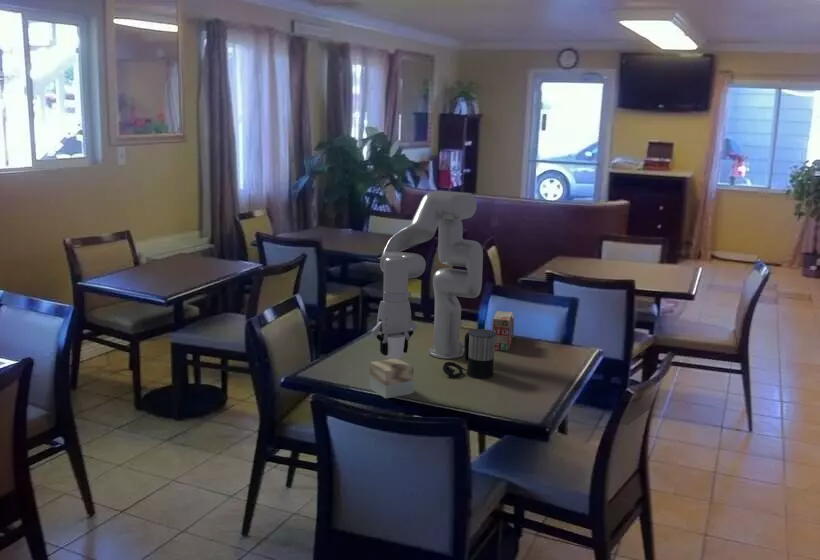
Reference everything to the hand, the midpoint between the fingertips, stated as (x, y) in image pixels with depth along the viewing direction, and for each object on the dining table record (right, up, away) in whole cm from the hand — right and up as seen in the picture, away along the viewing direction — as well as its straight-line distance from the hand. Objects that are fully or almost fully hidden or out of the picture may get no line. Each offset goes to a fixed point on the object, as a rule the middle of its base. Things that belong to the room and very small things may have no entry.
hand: (394, 352), depth 246 cm
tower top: (-1, -8, +1) cm, 8 cm away
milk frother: (+25, -10, +20) cm, 33 cm away
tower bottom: (-1, -13, +2) cm, 13 cm away
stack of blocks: (+41, -2, +59) cm, 71 cm away
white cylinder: (0, -1, 0) cm, 1 cm away
